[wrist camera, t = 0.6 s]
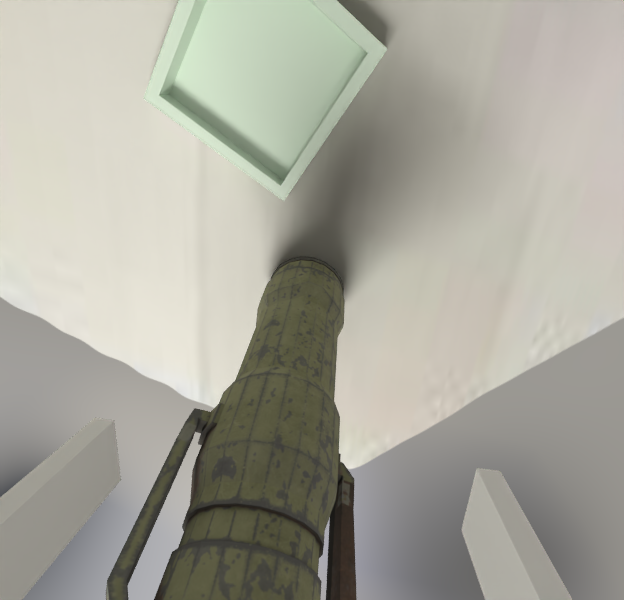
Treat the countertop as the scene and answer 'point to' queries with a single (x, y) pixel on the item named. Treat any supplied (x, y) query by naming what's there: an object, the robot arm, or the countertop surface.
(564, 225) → the countertop surface
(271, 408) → the thermos
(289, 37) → the tray
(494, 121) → the countertop surface
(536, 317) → the countertop surface
